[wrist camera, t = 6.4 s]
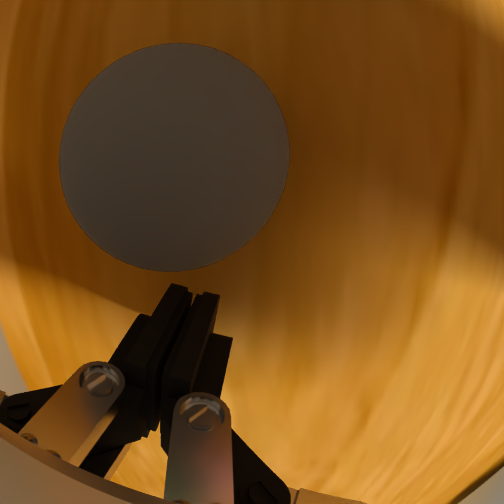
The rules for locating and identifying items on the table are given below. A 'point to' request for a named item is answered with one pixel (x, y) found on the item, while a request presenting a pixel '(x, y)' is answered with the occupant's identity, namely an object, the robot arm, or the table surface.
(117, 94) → the gray ball
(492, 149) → the table surface
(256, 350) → the table surface
